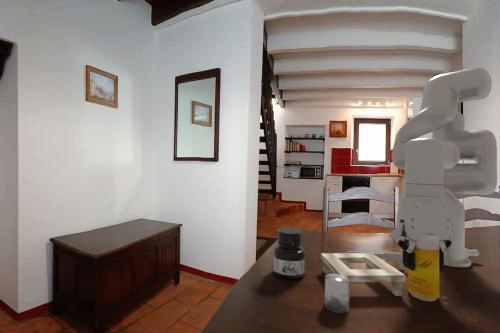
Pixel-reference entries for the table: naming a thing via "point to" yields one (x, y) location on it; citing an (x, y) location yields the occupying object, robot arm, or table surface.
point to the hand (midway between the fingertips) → (423, 267)
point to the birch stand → (372, 273)
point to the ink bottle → (289, 254)
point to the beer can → (425, 269)
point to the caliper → (388, 257)
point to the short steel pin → (337, 293)
